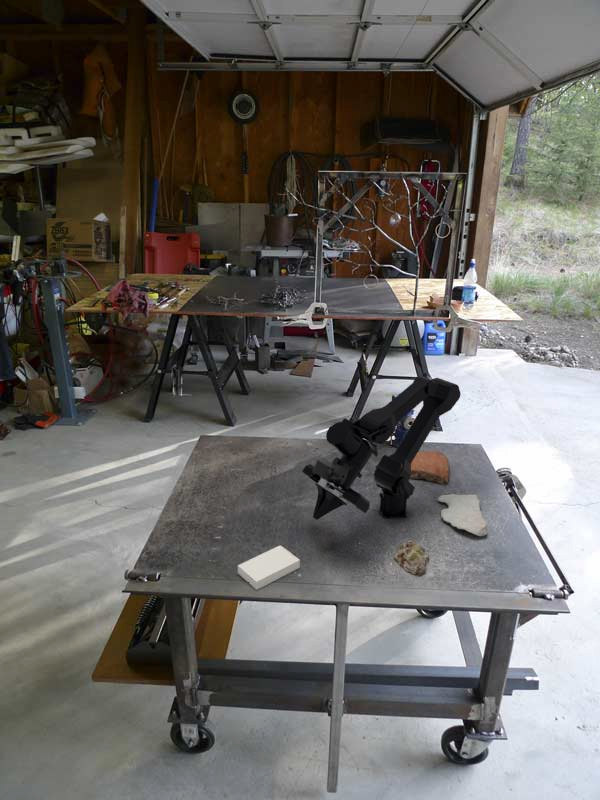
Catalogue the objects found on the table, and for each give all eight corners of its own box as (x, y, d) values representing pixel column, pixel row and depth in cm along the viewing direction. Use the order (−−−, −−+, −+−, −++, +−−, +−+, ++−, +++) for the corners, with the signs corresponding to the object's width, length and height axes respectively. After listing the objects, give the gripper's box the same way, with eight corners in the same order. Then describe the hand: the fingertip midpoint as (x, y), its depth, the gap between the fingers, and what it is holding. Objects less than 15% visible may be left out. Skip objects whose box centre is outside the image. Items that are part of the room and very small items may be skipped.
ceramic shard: (401, 441, 185) (449, 453, 183) (396, 460, 187) (444, 472, 185) (399, 457, 171) (452, 470, 169) (394, 477, 173) (446, 491, 171)
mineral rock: (388, 540, 142) (421, 532, 142) (391, 554, 144) (424, 546, 144) (399, 571, 132) (434, 562, 132) (402, 585, 134) (437, 576, 134)
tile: (280, 545, 139) (237, 565, 132) (299, 559, 134) (256, 581, 127) (280, 554, 140) (237, 574, 133) (299, 569, 135) (256, 591, 128)
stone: (475, 487, 165) (503, 524, 146) (474, 501, 166) (502, 538, 147) (429, 491, 164) (451, 528, 145) (429, 504, 165) (451, 543, 146)
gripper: (308, 433, 142) (270, 488, 140) (363, 463, 129) (322, 524, 126) (332, 453, 150) (297, 506, 147) (386, 483, 136) (348, 542, 134)
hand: (314, 518), depth 139 cm, fingers closed
